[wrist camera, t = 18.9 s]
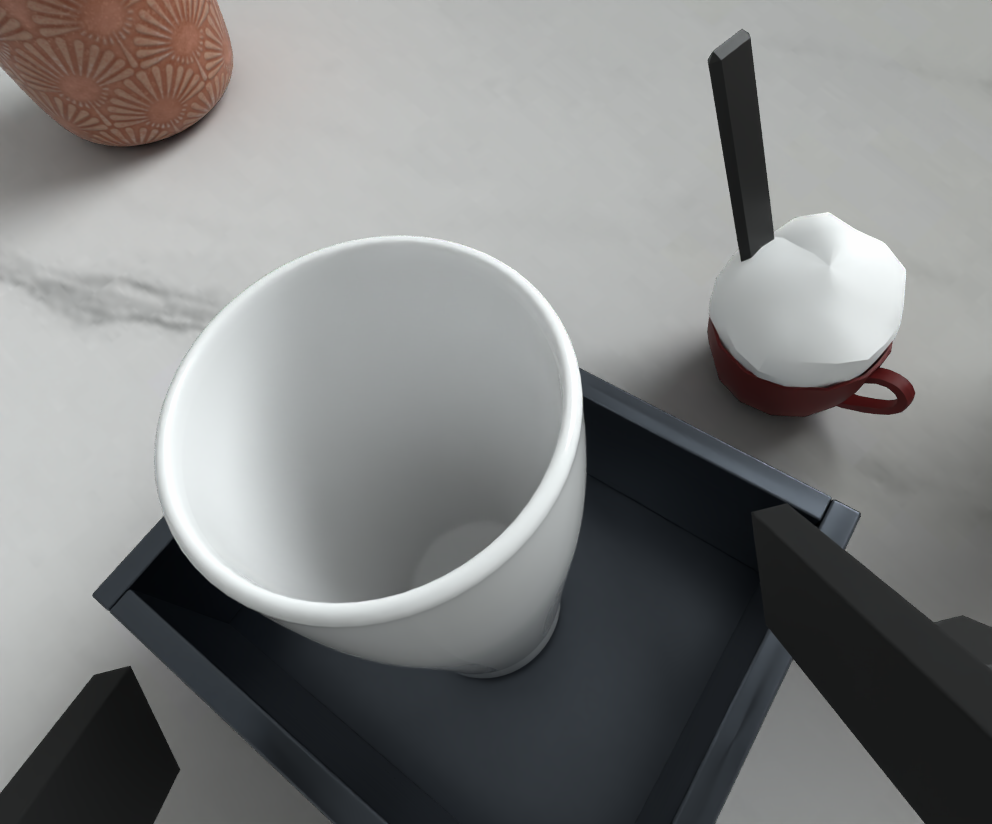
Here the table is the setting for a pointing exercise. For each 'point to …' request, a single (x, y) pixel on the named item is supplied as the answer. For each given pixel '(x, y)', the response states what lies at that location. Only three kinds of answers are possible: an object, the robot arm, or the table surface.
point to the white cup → (384, 455)
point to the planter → (118, 64)
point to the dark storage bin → (542, 682)
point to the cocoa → (795, 282)
